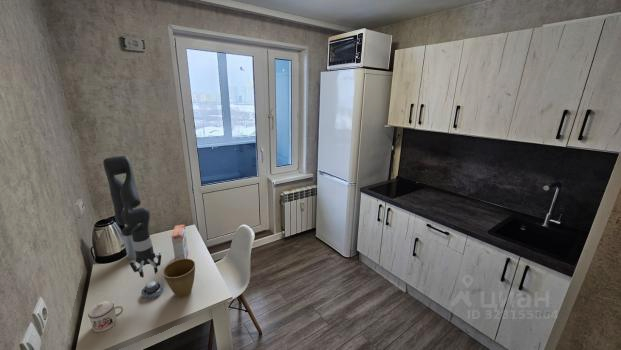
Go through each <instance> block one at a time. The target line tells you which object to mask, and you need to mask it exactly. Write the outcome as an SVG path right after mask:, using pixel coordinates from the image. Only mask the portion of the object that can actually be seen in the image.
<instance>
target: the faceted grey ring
mask: <svg viewBox="0 0 621 350" xmlns="http://www.w3.org/2000/svg"><path fill="white" fill-rule="evenodd" d="M157 282H158V287H159V289H158V290H157V291H156V292H154V293H151V294H147V292H146V288H145V286H144V287H142V289H141V298H142V299H144V300H153V299H156V298H158V297H159V296H161V295H162V294H163V292H164V285H163V283H162V282H160V281H157Z"/></svg>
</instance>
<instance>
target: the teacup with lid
mask: <svg viewBox="0 0 621 350" xmlns="http://www.w3.org/2000/svg"><path fill="white" fill-rule="evenodd" d="M117 309H121V310H120V312H118V313H116V310H117ZM123 312H124V307H123V306H122V305H117V306H115V303H114V302H113V301H111V300H110V301H109V300H105V301H101V302H99V303H96V304H95V305H93V306H92V307H91V308H90V309H89V310H88V313H87V317H89V319H90V324H91V327H92V329H93V332H96V333H103V332H105V331H107V330H109V329H111V328H112V327H114V326H115V325H116V323H117V322H118V317H119V316H120V315H122V314H123Z"/></svg>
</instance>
